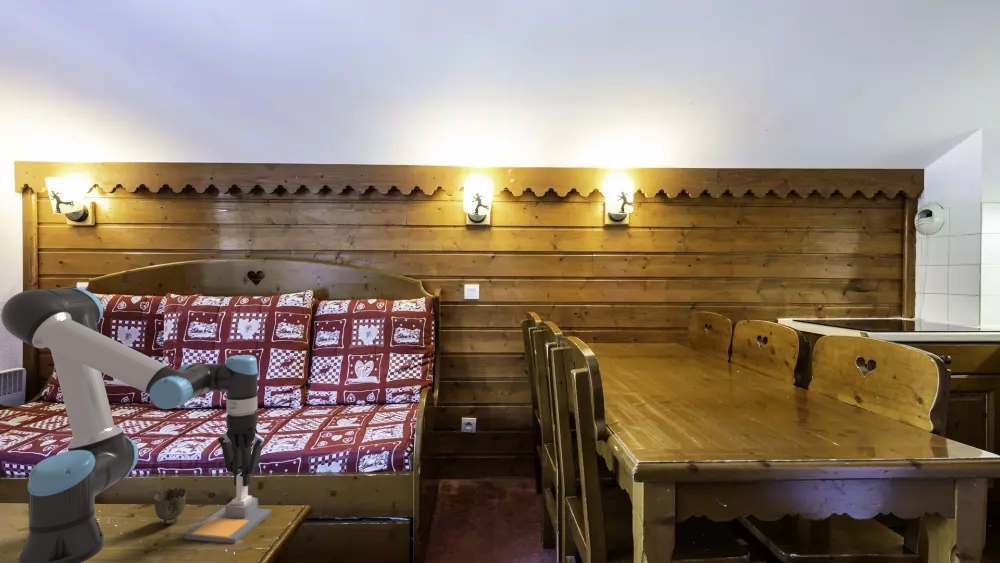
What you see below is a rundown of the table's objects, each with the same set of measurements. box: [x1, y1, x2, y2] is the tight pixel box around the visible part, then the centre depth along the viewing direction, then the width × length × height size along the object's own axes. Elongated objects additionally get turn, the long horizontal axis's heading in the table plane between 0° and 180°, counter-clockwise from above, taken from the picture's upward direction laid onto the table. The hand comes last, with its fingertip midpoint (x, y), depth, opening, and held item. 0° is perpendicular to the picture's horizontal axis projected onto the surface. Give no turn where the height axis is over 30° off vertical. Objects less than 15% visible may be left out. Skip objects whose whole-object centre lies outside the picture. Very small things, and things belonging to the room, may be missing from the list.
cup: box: [152, 486, 188, 526], centre depth 130 cm, size 8×7×8 cm
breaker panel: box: [184, 496, 272, 544], centre depth 128 cm, size 14×15×4 cm
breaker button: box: [231, 494, 253, 506], centre depth 133 cm, size 4×3×3 cm
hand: (242, 497), depth 133 cm, fingers closed
